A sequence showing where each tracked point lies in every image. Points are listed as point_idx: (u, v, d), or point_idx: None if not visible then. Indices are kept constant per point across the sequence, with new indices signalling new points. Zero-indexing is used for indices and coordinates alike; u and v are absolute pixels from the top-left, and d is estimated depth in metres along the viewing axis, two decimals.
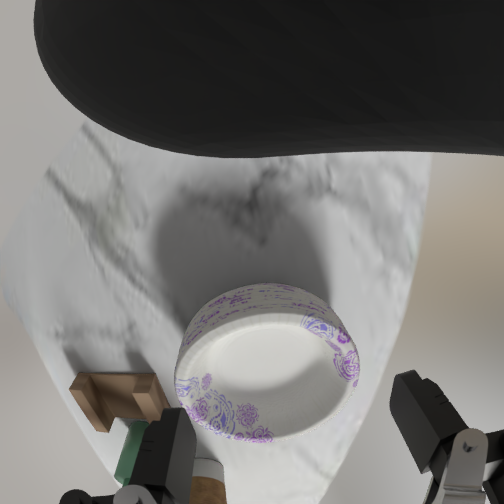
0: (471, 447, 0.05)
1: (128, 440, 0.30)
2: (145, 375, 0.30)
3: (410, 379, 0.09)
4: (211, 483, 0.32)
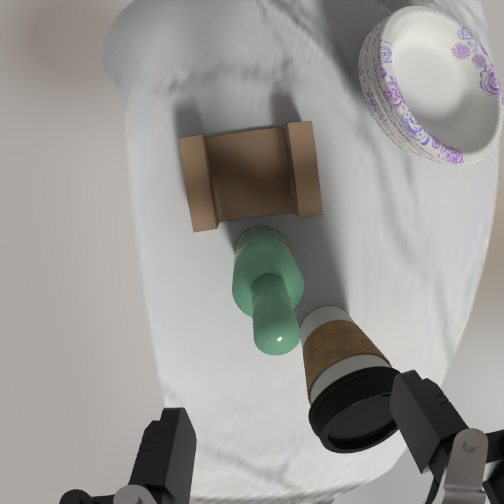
0: (471, 447, 0.05)
1: (249, 238, 0.25)
2: None
3: (410, 379, 0.09)
4: (356, 326, 0.27)
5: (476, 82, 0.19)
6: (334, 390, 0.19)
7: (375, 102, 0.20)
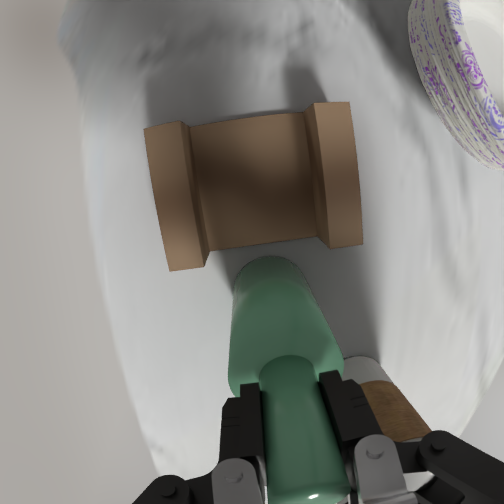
0: (373, 454, 0.06)
1: (254, 281, 0.16)
2: None
3: (330, 378, 0.10)
4: (394, 389, 0.18)
5: None
6: None
7: (439, 80, 0.12)
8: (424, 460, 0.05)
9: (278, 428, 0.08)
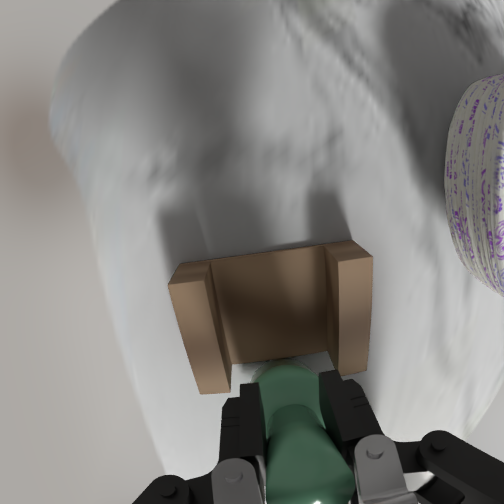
0: (373, 454, 0.06)
1: (267, 368, 0.17)
2: (336, 243, 0.18)
3: (330, 378, 0.10)
4: None
5: None
6: None
7: (466, 231, 0.13)
8: (424, 460, 0.05)
9: (280, 438, 0.08)
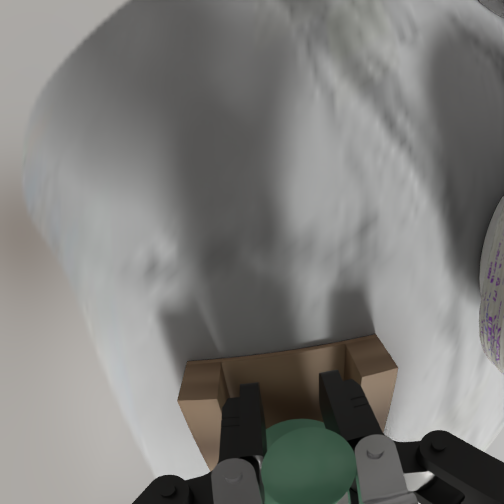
0: (373, 454, 0.06)
1: None
2: (359, 341, 0.16)
3: (330, 378, 0.10)
4: None
5: None
6: None
7: (497, 339, 0.11)
8: (424, 460, 0.05)
9: None
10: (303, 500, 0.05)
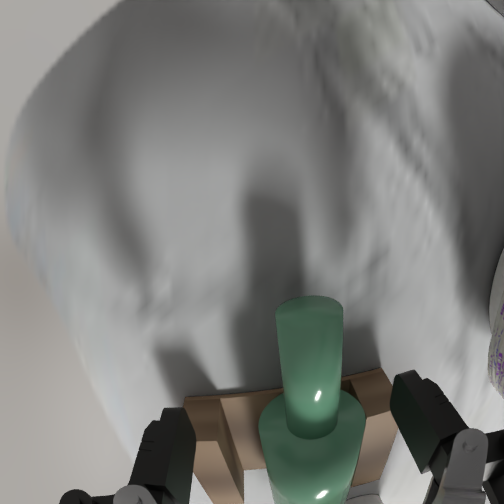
0: (471, 447, 0.05)
1: None
2: (364, 375, 0.14)
3: (410, 379, 0.09)
4: None
5: None
6: None
7: None
8: None
9: None
10: (317, 323, 0.09)
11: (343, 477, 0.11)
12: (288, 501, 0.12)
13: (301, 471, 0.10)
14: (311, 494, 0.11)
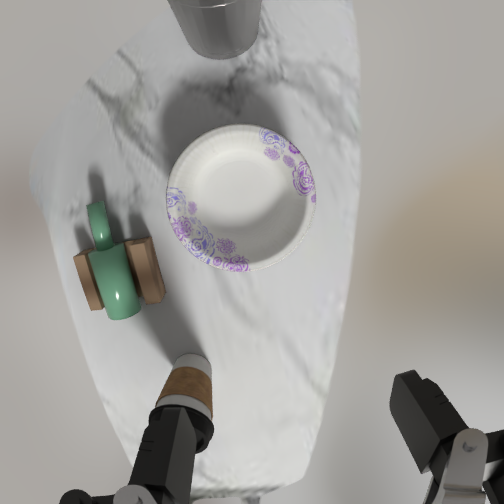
0: (471, 447, 0.05)
1: None
2: (142, 238, 0.37)
3: (410, 379, 0.09)
4: (197, 372, 0.38)
5: (290, 181, 0.31)
6: (154, 413, 0.30)
7: None
8: None
9: None
10: (90, 204, 0.32)
11: (104, 275, 0.33)
12: (99, 290, 0.35)
13: (90, 261, 0.34)
14: (97, 281, 0.34)
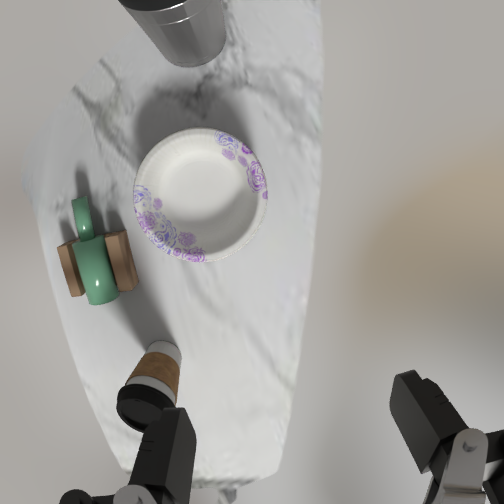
0: (471, 447, 0.05)
1: None
2: (118, 231, 0.40)
3: (410, 379, 0.09)
4: (165, 358, 0.41)
5: (245, 179, 0.33)
6: (121, 392, 0.33)
7: None
8: None
9: None
10: (75, 199, 0.35)
11: (87, 262, 0.36)
12: (81, 278, 0.37)
13: (74, 250, 0.36)
14: (80, 269, 0.36)
